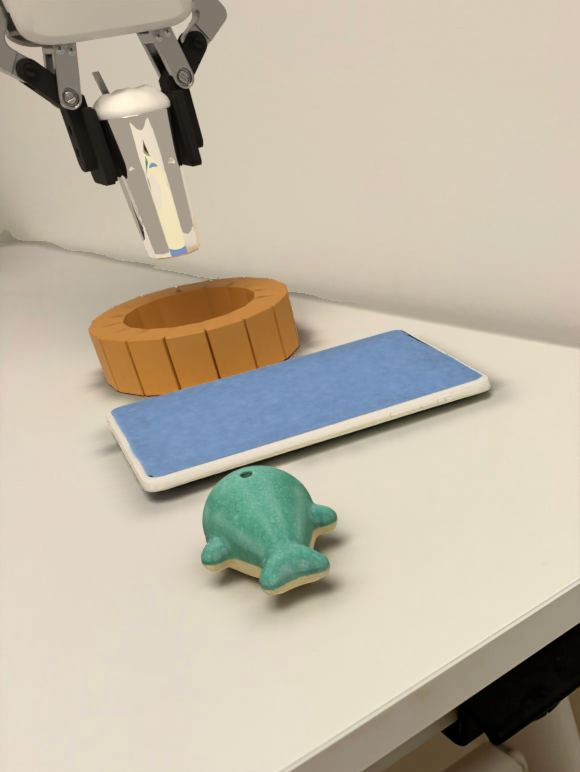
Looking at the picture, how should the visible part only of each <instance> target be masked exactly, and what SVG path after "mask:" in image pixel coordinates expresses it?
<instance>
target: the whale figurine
mask: <svg viewBox="0 0 580 772" xmlns="http://www.w3.org/2000/svg"><path fill="white" fill-rule="evenodd" d="M201 522H202V530H203V533H204V537H205V543H206V544H205V546H204V547H203V549H202V552H201V553H200V554H201V555H200V560H201V565H202V566H203V567H204V568H205V569H206V570H208V571H210V572H214V573H218V572H221V571H224V570H225V569H228V568H230V569H232V570H236V571H238V572H240V573H242V574H245V575H247V576H251V577H253V578H257V579H258V583H259V585H260V588H261V589H262V591H263V593H265V594H267V595H271V596H272V595H273V596H275V595H276V596H277V595H282V594H284V593H286V592H289V591H290V590H293V589H295V588H297V587H300V586H303V585H305V584H306V585H307V584H310V583H314V582H317V581H319V580H321V579H323V578H324V577H326V576H328V574H329V573H330V572H331V571H330V570H331V564H330V560H329V559H328V557H327V556H326V555H324V554H322V553H321V552H319V551H317V550H316V549H314V547H315V543H316V540H317V538H318V537H319V536H321V535H326V534H329V533H331V532H333V531H334V530H335V529H336V527H337V525H338V515H337V512H336V511H335V510H334V509H333V508H331V507H329V506H327V505H322V504H317V503H315V502H314V501H313V498H312V496H311V494H310V493H309V490H308V489H307V487H306V486H305V485H304V484H303V483H302V481H300V480H299V479H298V478H297V477H295V476H294V475H292V474H291V473H289V472H287V471H285V470H284V469H280V468H277V467H274V466H270V465H250V466H243V467H240V468H239V469H236V470H233V471H232V472H230V473H228V474H227V475H225V476H223V478H221V479H220V480H219V481H218V482H217V483H216V484H215V485H214V486H213V488H212V489H211V491H210V492H209V493H208V496H207V498H206V500H205V503H204V506H203V509H202V517H201Z"/></svg>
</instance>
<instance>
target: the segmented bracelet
mask: <svg viewBox="0 0 580 772" xmlns="http://www.w3.org/2000/svg"><path fill="white" fill-rule="evenodd" d="M288 291H289V290H288V287H287V284H286V283H284V282H281V281H279V280H276V279H274V278H268V277H254V276H253V277H251V276H245V277H243V276H239V277H226V278H216V279H211V280H210V279H208V280H202V281H197V282H190V283H186V284H185V283H184V284H180V285H177V286H173V287H168V288H165V289H160V290H157V291H154V292H149V293H147V294H143V295H142V296H140V295H139V296H136V297H135V298H132V299H130V300H127V301H124V302H122V303H119V304H117V305H114V306H113V307H111V308H109V309H107V310H106V311H104V312H103V313H101V314H100V315H98V316H96V317H95V318H94V319H93V320H92V322H91V323H90V326H89V327H88V330H87V332H88V334H89V338H90V340H91V342H92V345H93V347H94V350H95V353H96V356H97V358H98V361H99V364H100V366H101V369H102V371H103V374H104V377H105V380H106V382H107V384H109V385H110V386H111V387H112V388H113V389H114V390H116V391H117V392H120V393H125V394H129V395H135V396H149V397H150V396H151V397H152V396H160V395H164V394H168V393H171V392H175V391H178V390H182V389H185V388H189V387H192V386H196V385H200V384H204V383H207V382H211V381H215V380H219V379H222V378H226V377H229V376H233V375H236V374H240V373H243V372H247V371H250V370H254V369H258V368H261V367H265V366H268V365H272V364H276V363H279V362H283V361H286V360H288V358H289V357H290V356H291V355H292V354H293V353H294V352H295V351H296V350H297V349H298V348H299V347H300V346H301V345H300V337H299V332H298V329H297V325H296V321H295V320H296V319H295V317H294V312H293V308H292V304H291V299H290V296H289V292H288Z"/></svg>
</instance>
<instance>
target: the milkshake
mask: <svg viewBox="0 0 580 772" xmlns="http://www.w3.org/2000/svg"><path fill="white" fill-rule="evenodd" d="M91 74H92V77H93V78H94V81H95V83H96V84H97V86H98V89H99V90H100V93H101V94H102V95H100V96H99V97H98V98H97V99H96V100H95V102H94V103H93V105H92V106H91V107H92V109H95V111H96V113H97V115H98V118H99V121H100V125H101V128H102V131H103V134H104V137H105V140H106V143H107V146H108V149H109V152H110V155H111V159H112V162H113V165H114V168H115V171H116V174H117V177H118V181H117V182H118V183H119V186H120V187H121V190H122V193H123V196H124V198H125V200H126V203H127V205H128V206H127V207H128V208H129V211H130V213H131V215H132V218H133V221H134V223H135V226H136V227H137V230H138V233H139V235H140V238H141V240H142V243H143V245H144V248H145V251H146V252H147V255H148V257H149V258H150V259H154V260H165V259H175V258H178V257H183V256H186V255H189V254H192V253H194V252H196V251H199V249H200V246H201V243H200V237H199V234H198V230H197V224H196V220H195V216H194V211H193V207H192V203H191V198H190V194H189V193H190V192H189V188H188V184H187V180H186V175H185V171H184V165H182V162H181V157H180V151H179V146H178V141H177V136H176V131H175V126H174V121H173V116H172V111H171V106H170V100H169V98H168V97H167V96H166V95H165V94H164V93H162V92H161V89H159V88H156V87H155V86H152V85H149V84H142V85H139V86H136V87H124V88H120V89H118V88H117V89H115V90H114V91H112V92H111V93H110V91H109V89H108V86H107V85H106V82H105V81H104V79H103V76H102V74H101V73H100V71H99V70H96V71H92V72H91Z"/></svg>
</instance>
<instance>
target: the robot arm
mask: <svg viewBox="0 0 580 772" xmlns="http://www.w3.org/2000/svg"><path fill="white" fill-rule="evenodd" d="M190 15H191V19H190V21H189V22H188V25H187V26H186V28H185V29H184V31H183V32H181V33H180V34H179V36H178V38H177V37H176V34H175V33H174V31H173V28H172V27H174V26H177V25H179V24H181V23H183V22H184V21H186V20H187V19H188V18H189V17H190ZM227 18H228V13H227V9H226V7H225V6H224V4H223V3H222V2H221V1H220V0H0V73H3V74H5V75H7V76H9V77H11V78H13V79H15V80H17V81H18V82H19V83H20V84H21V85H24V86H25V87H27V89H30V90H31V91H33V92H34V93H36V94H37V95H38V96H39V97H41V98H42V99H44V100H46V101H47V102H49V103H50V104H51V105H52V106H53V107H54V108H56V109H59V111H60V114H61V116H62V120H63V123H64V126H65V128H66V131H67V135H68V138H69V140H70V143H71V146H72V149H73V152H74V154H75V157H76V160H77V163H78V166H79V168H80V169H81V171H82V172H83V173H90V175H91V177H92V179H93V181H94V183H95V184H98V185H102V186H105V187H108V186H114V185H116V184H117V182H119V181H118V177H117V174H116V171H115V168H114V165H113V162H112V159H111V155H110V152H109V149H108V146H107V143H106V140H105V137H104V134H103V131H102V128H101V125H100V121H99V118H98V115H97V113H96V111H95V109H92V107H93V106H88V103H87V99H86V97H85V95H84V94H83V93H82V85H81V77H80V67H79V59H78V49H77V43H81V42H82V43H83V42H87V41H95V40H100V39H107V38H113V37H114V38H115V37H120V36H126V35H127V36H128V35H132V34H136V36H137V38H138V39H139V42H140V43H141V46H142V48H143V50H144V52H145V54H146V55H147V57H148V59H149V62H150V64H151V65H152V67H153V69H154V71H155V74H156V75H157V77H158V85H159V88H160V91H161V92H162V93H164V94H165V95H166V96H167V97H168V98H169V100H170V106H171V111H172V116H173V121H174V126H175V131H176V136H177V141H178V146H179V151H180V157H181V162H182V166H187V167H198V166H202V164H203V160H202V156H201V151H200V149H201V148H203V147H204V137H203V135H202V130H201V127H200V123H199V118H198V115H197V112H196V108H195V103H194V101H193V96H192V93H191V90H190V88H192V87H193V85H194V83H195V75H196V73H197V71H198V69H199V67H200V65H201V63H202V60H203V58H204V56H205V53H206V52H207V49H208V46H209V44H210V43H211V42H212V41H213V40H214V39H215V37H216V35H217V33H218V32H219V31H220V30H221V28H222V26H224V24H225V22H226V20H227ZM6 39H7V40H9V41H10V42H12V43H13V44H16V45H18V46H21V47H26V48H41V52H42V62H43V65H42V64H40V62H37V61H36V60H35V59H33V58H31V57H28V56H26V55H24V54H22V53H21V52H19V51H17V50H16V49H15V48H13V47H11V46H10V45H9V44H8V43H7V40H6Z"/></svg>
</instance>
